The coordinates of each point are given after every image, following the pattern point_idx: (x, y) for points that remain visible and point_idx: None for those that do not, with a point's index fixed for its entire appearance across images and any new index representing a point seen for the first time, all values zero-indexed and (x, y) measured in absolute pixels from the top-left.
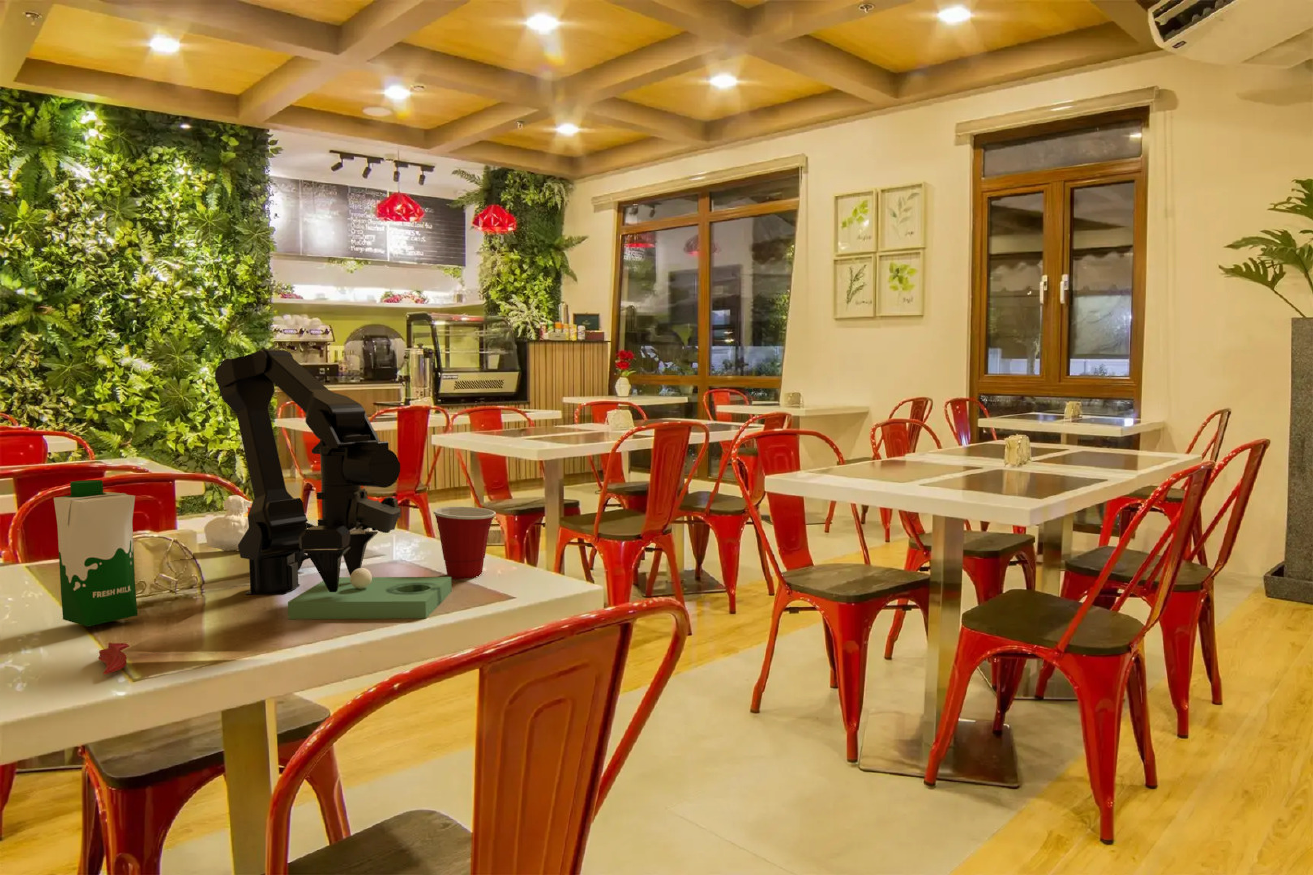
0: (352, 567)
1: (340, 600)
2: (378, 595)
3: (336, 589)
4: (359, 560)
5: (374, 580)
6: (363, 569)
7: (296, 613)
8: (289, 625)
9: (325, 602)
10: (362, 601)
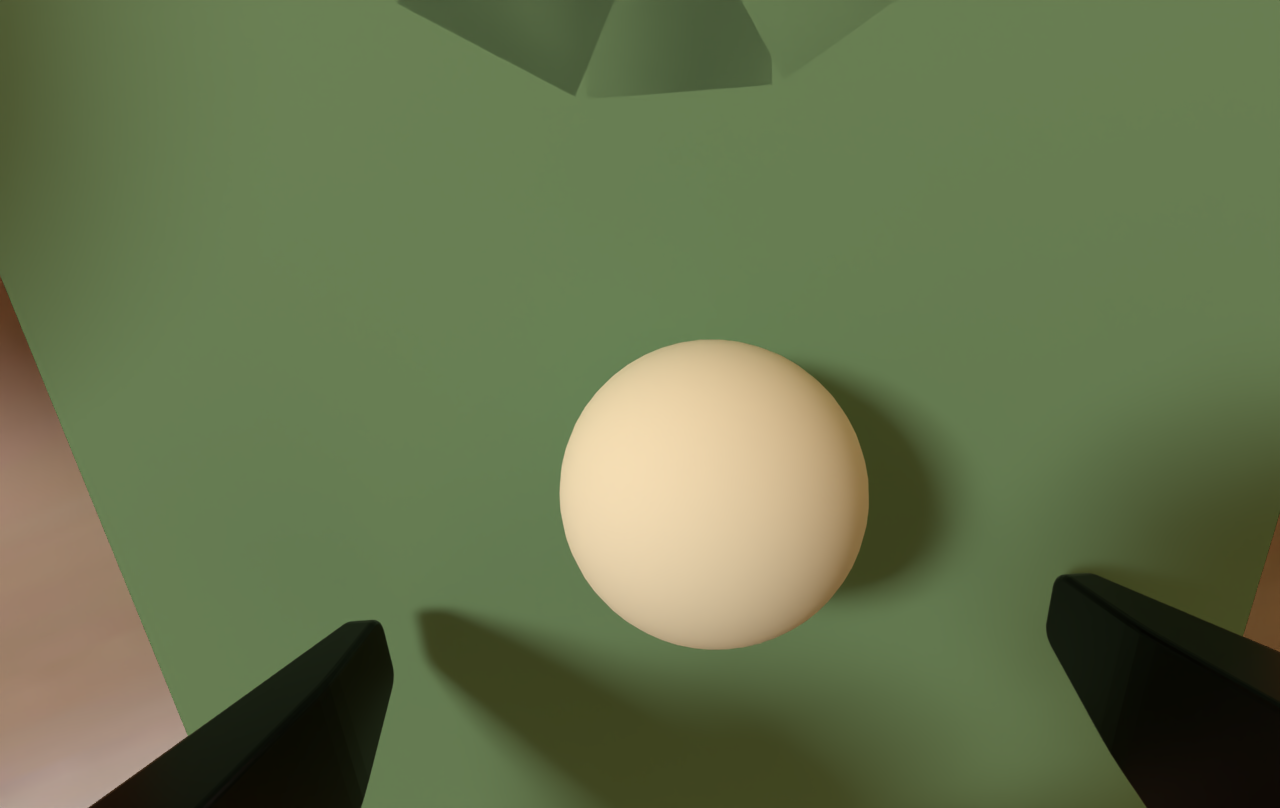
0: (338, 775)
1: (1246, 433)
2: (1080, 59)
3: (1112, 583)
4: (241, 792)
5: (262, 445)
6: (769, 512)
7: None
8: (1269, 639)
9: (1257, 550)
10: None
